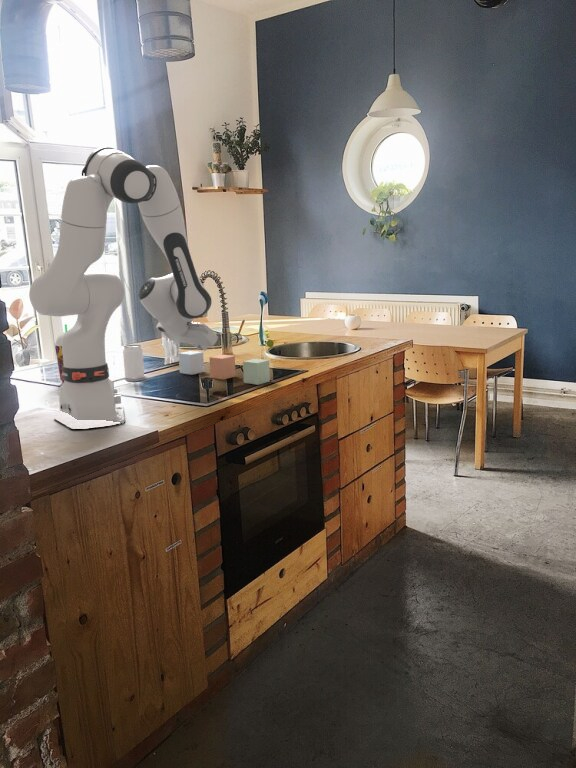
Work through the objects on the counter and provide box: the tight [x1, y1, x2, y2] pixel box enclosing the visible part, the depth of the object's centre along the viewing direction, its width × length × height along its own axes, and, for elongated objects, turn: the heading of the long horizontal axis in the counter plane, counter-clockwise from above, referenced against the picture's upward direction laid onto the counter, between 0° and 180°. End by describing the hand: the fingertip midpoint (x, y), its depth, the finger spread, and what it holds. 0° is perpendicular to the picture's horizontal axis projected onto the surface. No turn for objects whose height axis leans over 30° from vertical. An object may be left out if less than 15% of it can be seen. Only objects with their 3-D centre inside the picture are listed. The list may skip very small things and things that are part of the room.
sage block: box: [242, 358, 271, 385], centre depth 214 cm, size 6×6×7 cm
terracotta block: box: [209, 354, 236, 380], centre depth 223 cm, size 6×6×7 cm
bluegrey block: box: [178, 350, 205, 376], centre depth 232 cm, size 6×6×7 cm
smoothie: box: [54, 323, 68, 384], centre depth 224 cm, size 8×8×20 cm
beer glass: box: [160, 331, 181, 365], centre depth 255 cm, size 7×7×15 cm
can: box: [122, 344, 145, 383], centre depth 227 cm, size 6×6×12 cm
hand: (203, 348), depth 212 cm, fingers closed
